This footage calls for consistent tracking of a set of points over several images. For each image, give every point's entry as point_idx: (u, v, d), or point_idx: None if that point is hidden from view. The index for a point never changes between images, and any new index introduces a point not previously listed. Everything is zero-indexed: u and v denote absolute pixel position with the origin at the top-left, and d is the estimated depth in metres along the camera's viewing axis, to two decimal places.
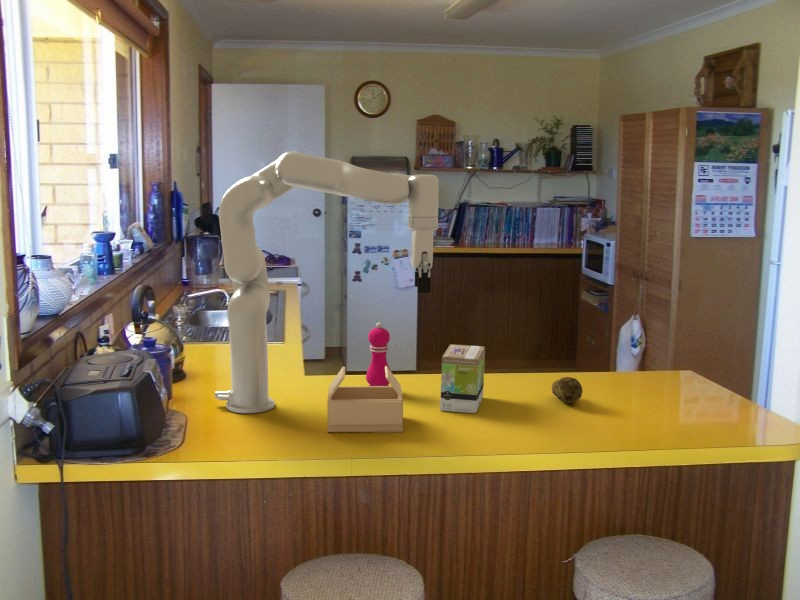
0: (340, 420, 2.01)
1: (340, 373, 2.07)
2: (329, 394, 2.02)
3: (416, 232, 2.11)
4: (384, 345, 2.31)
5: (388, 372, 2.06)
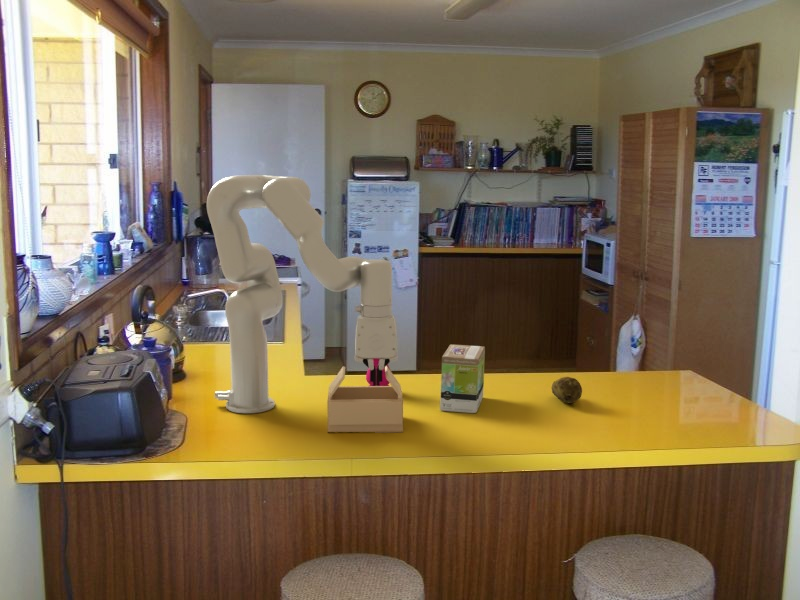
0: (340, 420, 2.01)
1: (340, 373, 2.07)
2: (329, 394, 2.02)
3: (393, 320, 2.02)
4: None
5: (388, 372, 2.06)
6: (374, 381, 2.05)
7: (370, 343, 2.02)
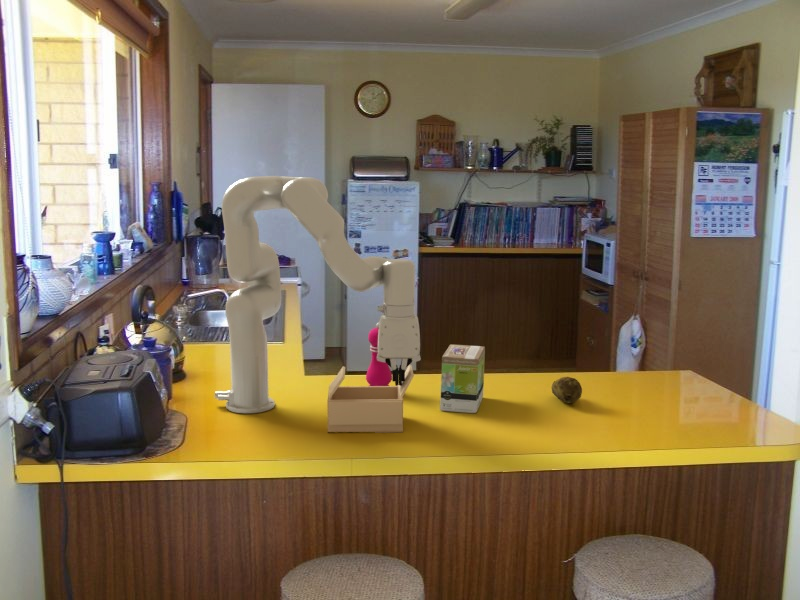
0: (340, 420, 2.01)
1: (340, 373, 2.07)
2: (329, 394, 2.02)
3: (416, 320, 2.02)
4: None
5: None
6: (396, 381, 2.05)
7: (393, 343, 2.02)
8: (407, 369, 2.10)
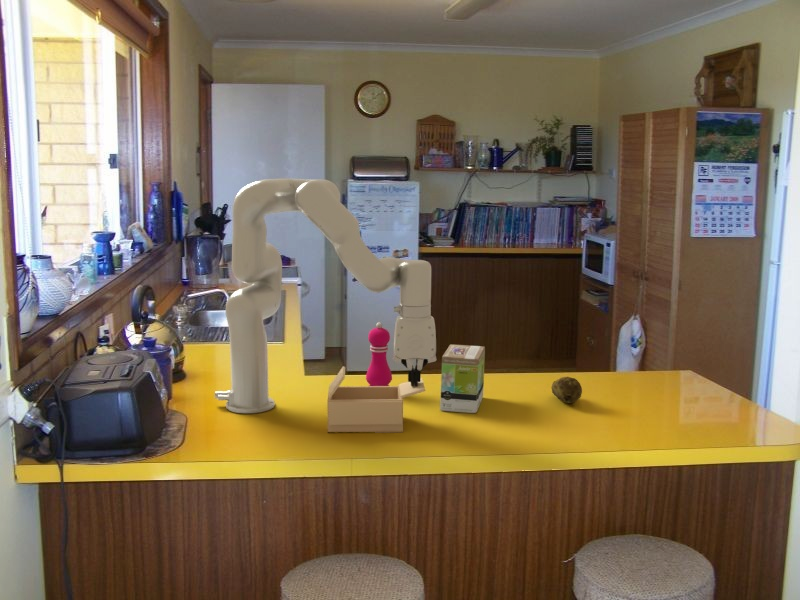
0: (340, 420, 2.01)
1: (340, 373, 2.07)
2: (329, 394, 2.02)
3: (432, 320, 2.02)
4: (384, 345, 2.31)
5: None
6: (412, 381, 2.05)
7: (409, 343, 2.02)
8: None
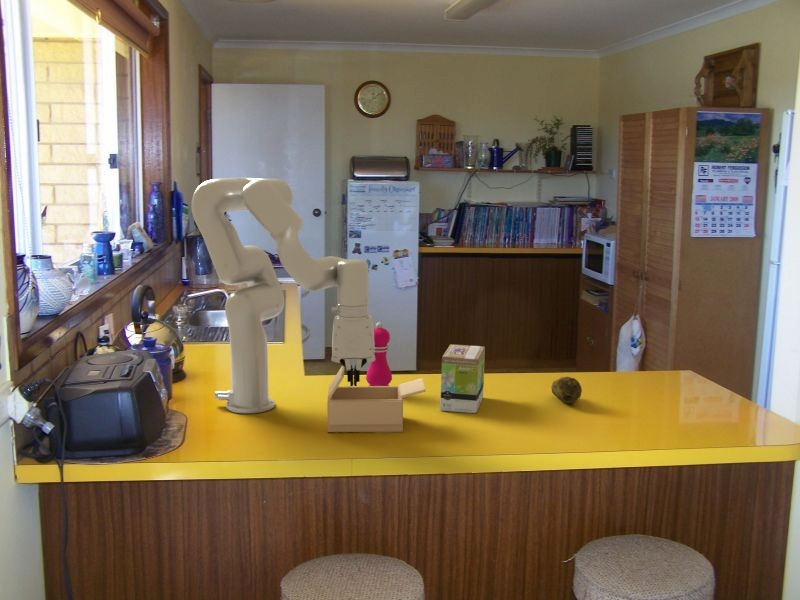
0: (340, 420, 2.01)
1: (339, 373, 2.07)
2: (329, 394, 2.02)
3: (370, 320, 2.02)
4: (384, 345, 2.31)
5: None
6: (351, 381, 2.05)
7: (347, 343, 2.02)
8: (418, 380, 2.11)
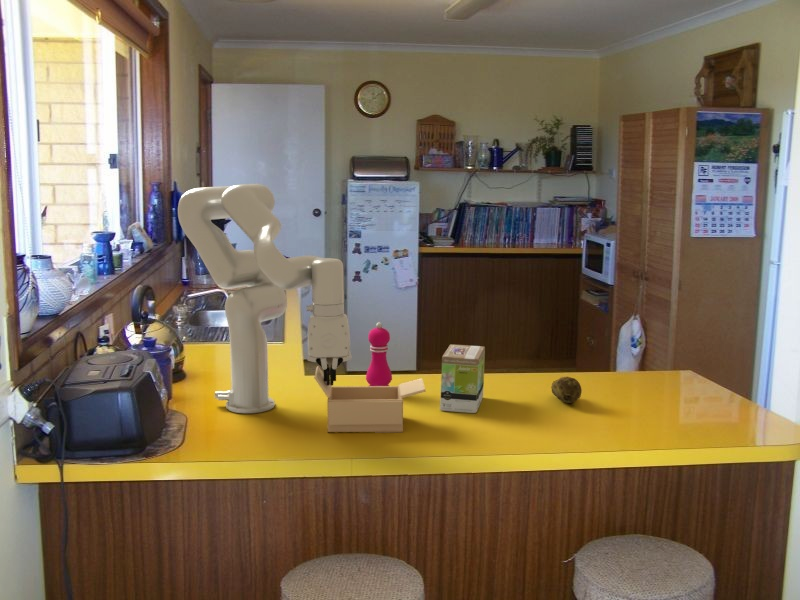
0: (340, 420, 2.01)
1: (318, 374, 2.07)
2: (327, 395, 2.02)
3: (345, 319, 2.01)
4: (384, 345, 2.31)
5: None
6: (327, 380, 2.04)
7: (322, 342, 2.01)
8: (418, 380, 2.11)
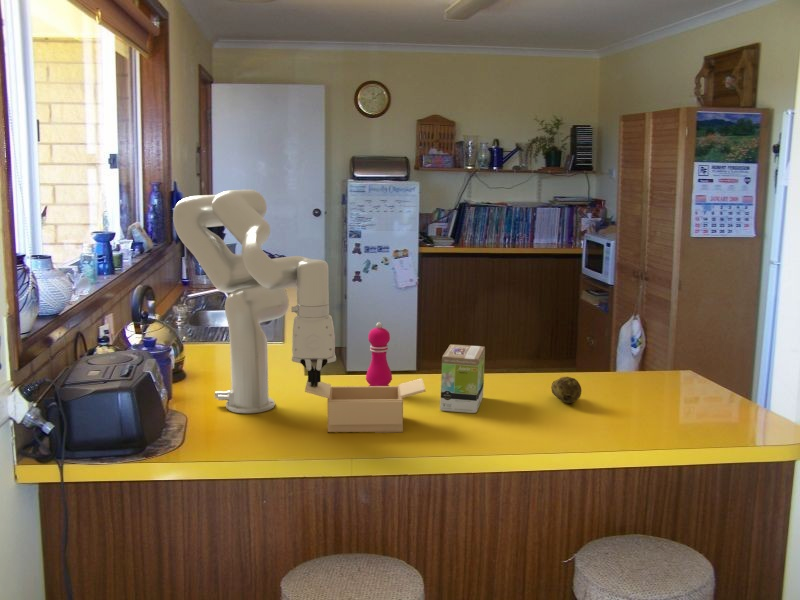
0: (340, 420, 2.01)
1: None
2: None
3: (330, 320, 2.01)
4: (384, 345, 2.31)
5: None
6: (312, 381, 2.04)
7: (307, 343, 2.01)
8: (418, 380, 2.11)
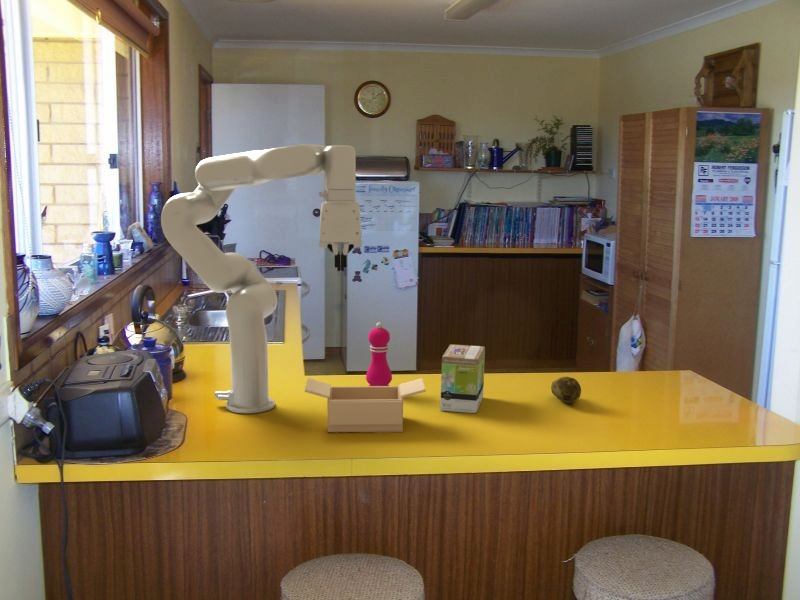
0: (340, 420, 2.01)
1: None
2: None
3: (357, 204, 2.05)
4: (384, 345, 2.31)
5: None
6: (338, 266, 2.08)
7: (334, 227, 2.05)
8: (418, 380, 2.11)
